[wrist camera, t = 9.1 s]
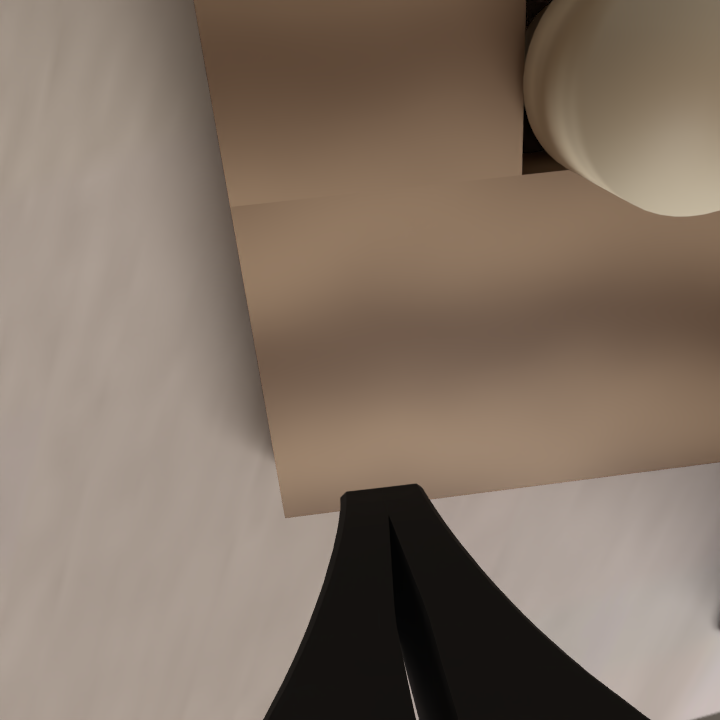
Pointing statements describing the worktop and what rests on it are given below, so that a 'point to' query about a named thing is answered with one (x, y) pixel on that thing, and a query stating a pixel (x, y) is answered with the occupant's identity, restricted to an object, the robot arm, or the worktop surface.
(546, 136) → the peg
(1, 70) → the worktop surface
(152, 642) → the worktop surface
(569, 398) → the board
